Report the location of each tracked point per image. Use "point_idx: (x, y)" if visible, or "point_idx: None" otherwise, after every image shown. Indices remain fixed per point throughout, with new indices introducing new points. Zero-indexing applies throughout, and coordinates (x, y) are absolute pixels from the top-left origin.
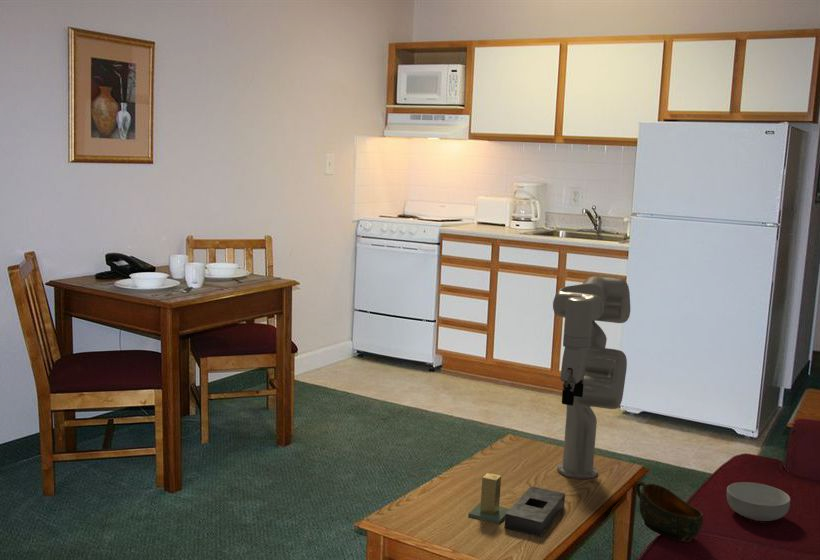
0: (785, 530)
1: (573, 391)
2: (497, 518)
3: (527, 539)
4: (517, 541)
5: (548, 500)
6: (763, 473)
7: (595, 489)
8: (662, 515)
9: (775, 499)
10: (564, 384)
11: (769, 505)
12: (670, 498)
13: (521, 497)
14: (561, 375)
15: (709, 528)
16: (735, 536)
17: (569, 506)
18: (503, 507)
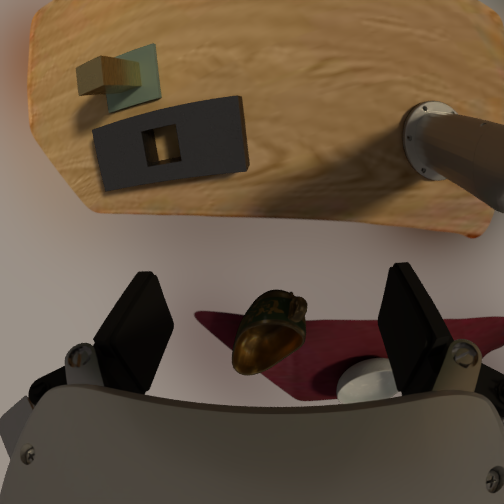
0: None
1: (139, 393)
2: (114, 104)
3: (100, 172)
4: (87, 165)
5: (188, 158)
6: (480, 344)
7: (371, 190)
8: (236, 335)
9: (387, 386)
10: (33, 395)
11: (339, 401)
12: (298, 338)
13: (165, 109)
14: (23, 435)
15: (306, 347)
16: (299, 365)
17: (259, 172)
18: (157, 84)
